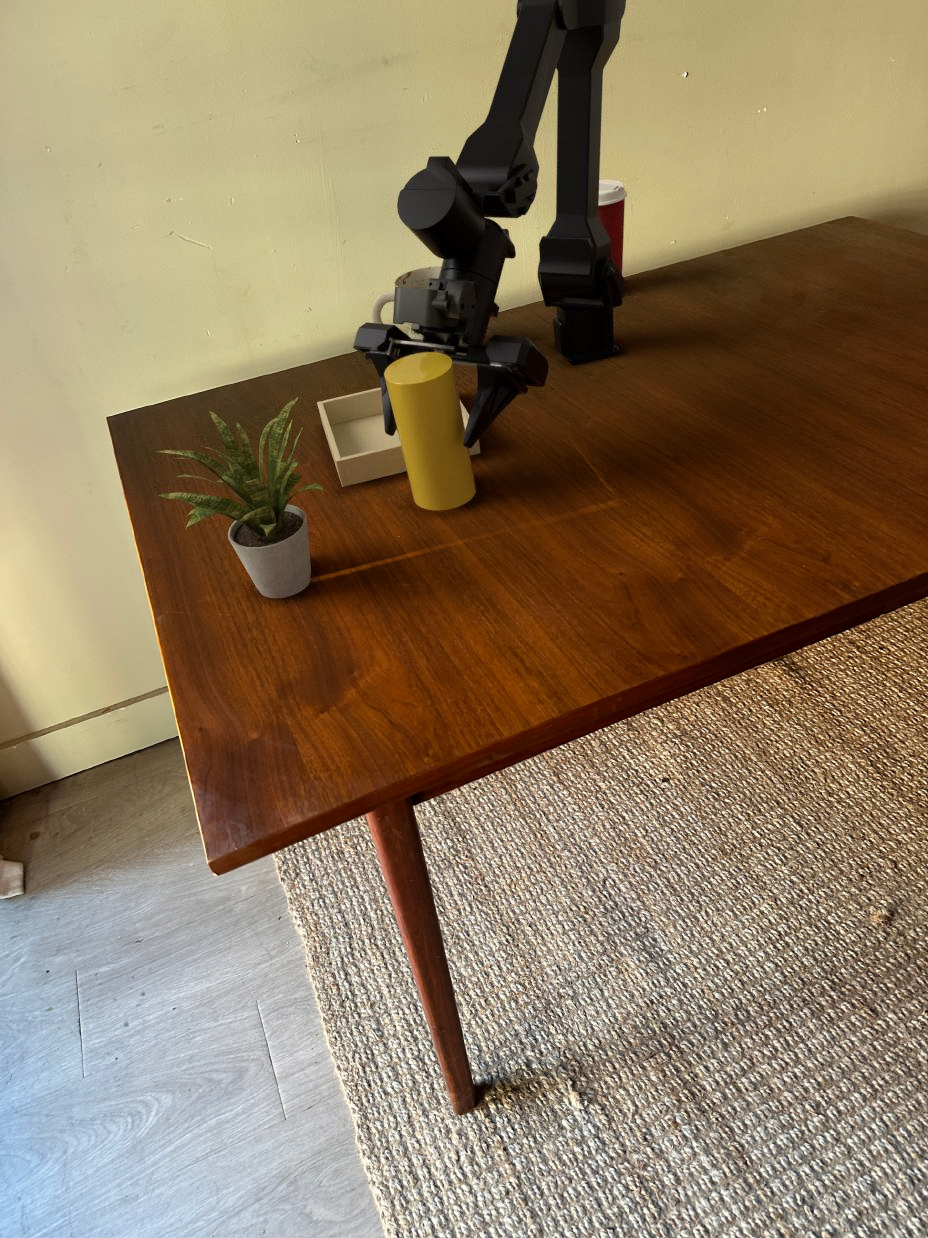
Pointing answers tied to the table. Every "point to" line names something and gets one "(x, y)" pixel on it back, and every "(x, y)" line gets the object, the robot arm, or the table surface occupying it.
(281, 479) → the house plant
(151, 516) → the table surface
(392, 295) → the mug
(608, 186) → the paper cup
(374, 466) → the white rectangular tray
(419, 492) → the yellow cylinder
